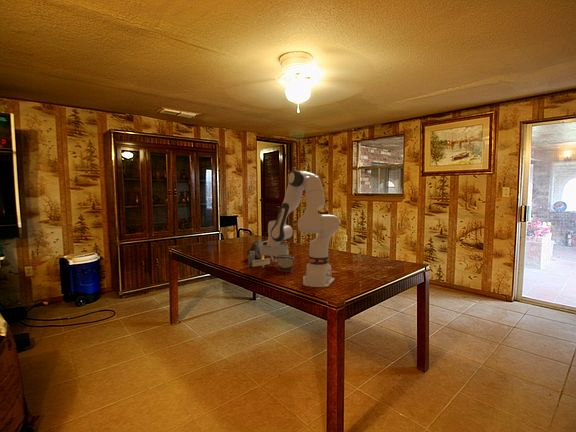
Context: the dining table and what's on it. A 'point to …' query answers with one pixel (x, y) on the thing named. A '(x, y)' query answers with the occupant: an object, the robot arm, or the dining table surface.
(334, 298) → the dining table surface
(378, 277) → the dining table surface
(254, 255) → the latch stile
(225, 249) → the dining table surface
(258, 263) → the gate leaf
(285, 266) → the food container
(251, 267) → the hinge post
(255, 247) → the stone
